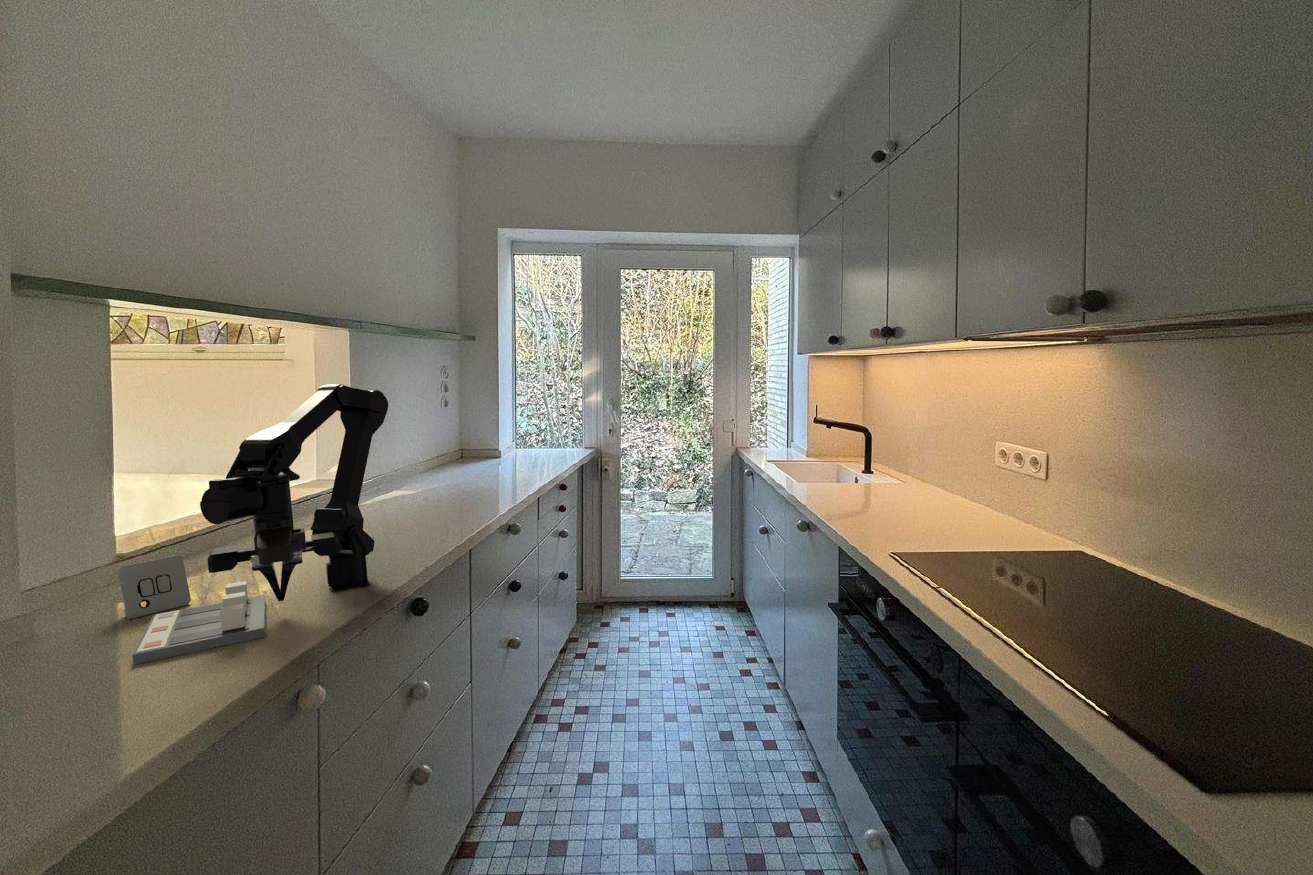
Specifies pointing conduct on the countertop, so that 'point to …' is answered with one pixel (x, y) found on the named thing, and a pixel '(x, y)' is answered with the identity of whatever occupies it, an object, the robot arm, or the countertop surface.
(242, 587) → the switch tab
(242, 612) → the switch tab
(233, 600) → the switch tab
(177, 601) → the electrical switch
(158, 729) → the countertop surface
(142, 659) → the switch housing
